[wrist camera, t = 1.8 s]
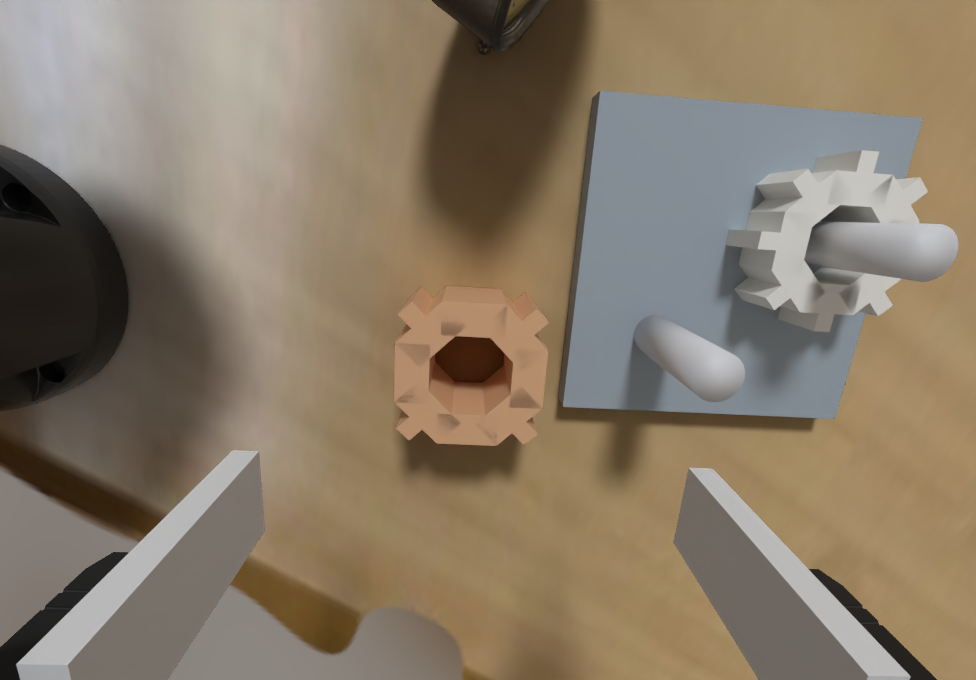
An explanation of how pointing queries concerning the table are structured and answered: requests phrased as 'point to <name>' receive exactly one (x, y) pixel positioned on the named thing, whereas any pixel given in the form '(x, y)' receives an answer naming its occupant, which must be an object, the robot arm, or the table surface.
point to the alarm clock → (494, 19)
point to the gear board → (737, 253)
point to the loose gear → (470, 405)
